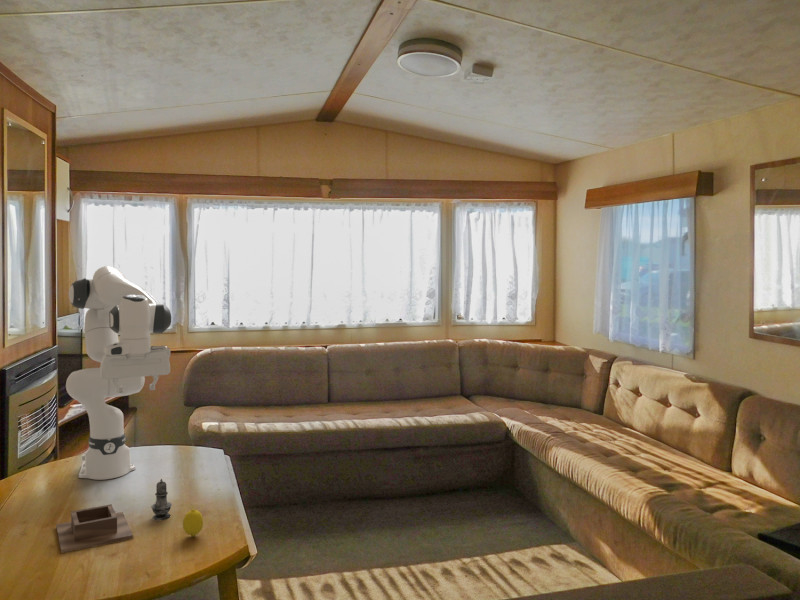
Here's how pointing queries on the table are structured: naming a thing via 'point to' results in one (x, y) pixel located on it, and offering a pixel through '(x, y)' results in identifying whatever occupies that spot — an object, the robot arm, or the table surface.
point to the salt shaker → (161, 503)
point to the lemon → (193, 522)
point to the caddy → (93, 528)
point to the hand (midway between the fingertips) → (136, 391)
